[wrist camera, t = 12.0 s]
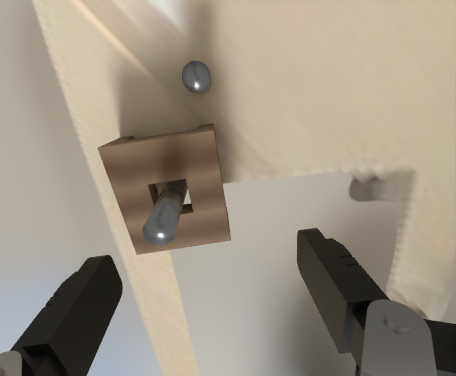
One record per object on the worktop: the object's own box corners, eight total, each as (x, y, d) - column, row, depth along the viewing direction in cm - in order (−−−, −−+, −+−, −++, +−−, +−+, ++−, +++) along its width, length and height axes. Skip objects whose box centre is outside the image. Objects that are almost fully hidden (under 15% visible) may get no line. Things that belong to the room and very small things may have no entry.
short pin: (185, 69, 30) (179, 63, 25) (208, 65, 30) (207, 58, 25) (190, 94, 31) (185, 94, 26) (212, 91, 31) (212, 90, 26)
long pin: (167, 172, 36) (138, 221, 22) (187, 169, 36) (170, 216, 22) (172, 190, 37) (147, 247, 23) (191, 188, 37) (178, 243, 23)
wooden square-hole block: (120, 137, 33) (97, 147, 27) (213, 123, 33) (213, 130, 27) (149, 228, 39) (136, 254, 33) (228, 216, 39) (231, 240, 33)
